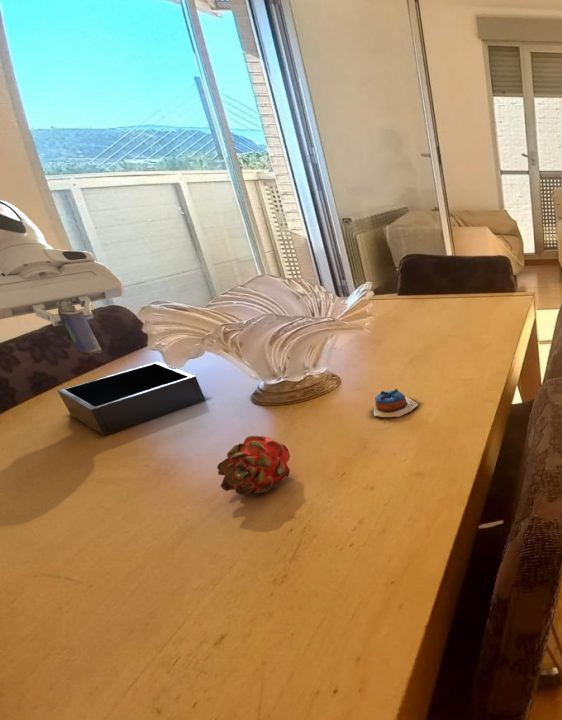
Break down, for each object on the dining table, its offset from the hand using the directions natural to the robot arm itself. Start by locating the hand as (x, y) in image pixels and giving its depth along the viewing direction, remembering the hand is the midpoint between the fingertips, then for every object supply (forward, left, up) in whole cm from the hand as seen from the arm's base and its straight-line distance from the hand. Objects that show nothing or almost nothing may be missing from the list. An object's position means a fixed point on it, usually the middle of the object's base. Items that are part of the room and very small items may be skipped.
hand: (74, 320), depth 97 cm
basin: (0, -15, -17) cm, 22 cm away
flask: (0, 0, -7) cm, 7 cm away
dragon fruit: (-2, -66, -17) cm, 68 cm away
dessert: (+23, -64, -17) cm, 70 cm away
